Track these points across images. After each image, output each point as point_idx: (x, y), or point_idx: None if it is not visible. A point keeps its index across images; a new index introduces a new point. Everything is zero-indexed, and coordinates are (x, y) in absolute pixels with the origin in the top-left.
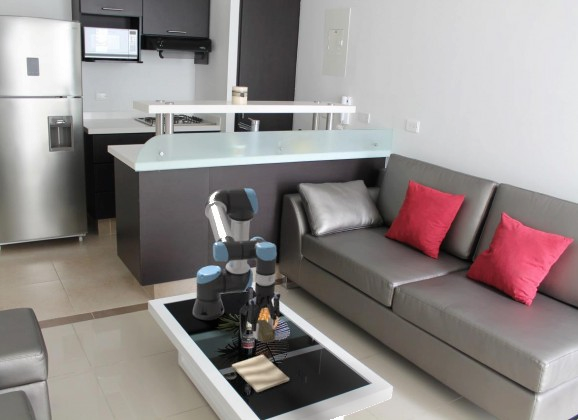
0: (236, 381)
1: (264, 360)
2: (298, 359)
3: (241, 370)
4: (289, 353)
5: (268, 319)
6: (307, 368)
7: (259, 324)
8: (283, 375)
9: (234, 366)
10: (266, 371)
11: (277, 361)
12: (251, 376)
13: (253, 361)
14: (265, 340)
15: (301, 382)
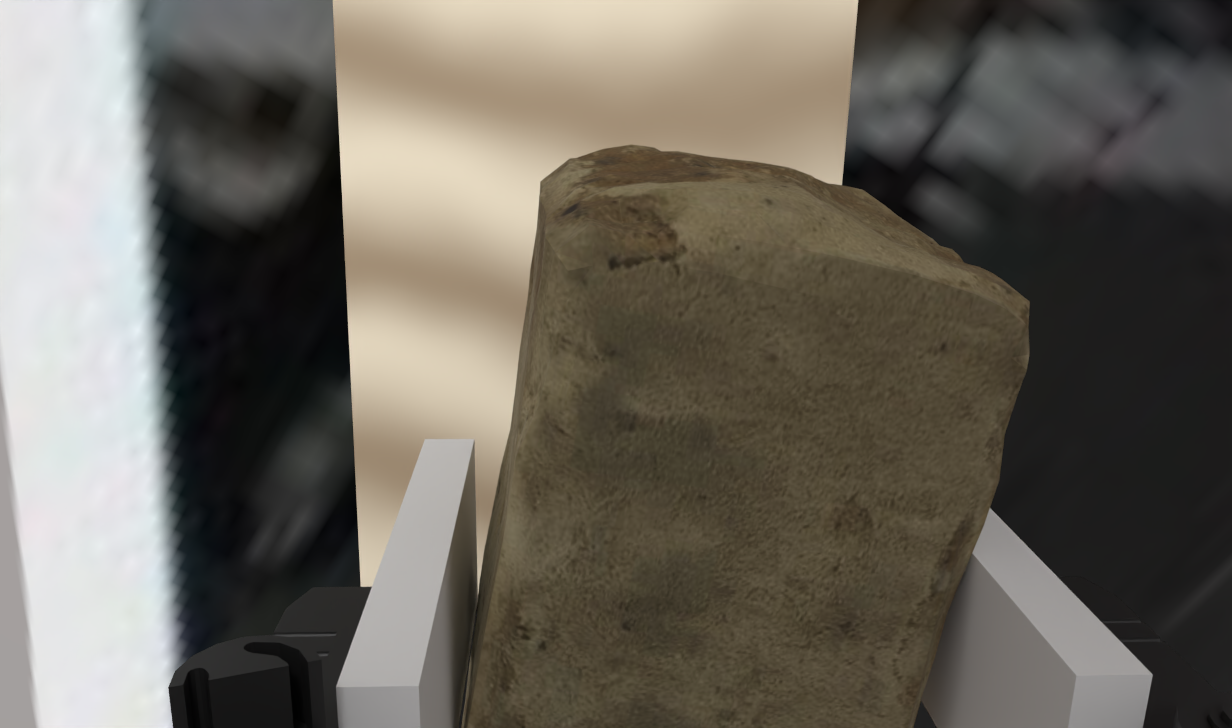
0: (245, 286)
1: (790, 115)
2: (1187, 289)
3: (386, 157)
4: (1201, 108)
5: (1034, 649)
6: (1130, 495)
7: (638, 572)
8: None
9: (342, 17)
10: None
11: (943, 185)
12: (436, 341)
13: (645, 54)
14: None
15: None
